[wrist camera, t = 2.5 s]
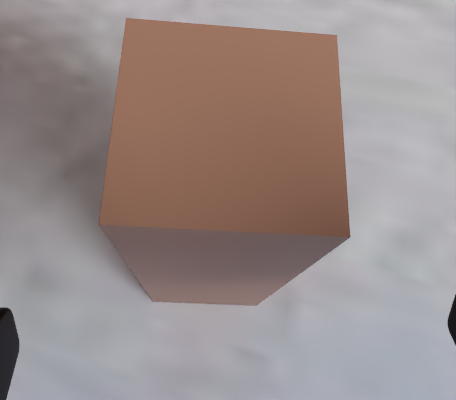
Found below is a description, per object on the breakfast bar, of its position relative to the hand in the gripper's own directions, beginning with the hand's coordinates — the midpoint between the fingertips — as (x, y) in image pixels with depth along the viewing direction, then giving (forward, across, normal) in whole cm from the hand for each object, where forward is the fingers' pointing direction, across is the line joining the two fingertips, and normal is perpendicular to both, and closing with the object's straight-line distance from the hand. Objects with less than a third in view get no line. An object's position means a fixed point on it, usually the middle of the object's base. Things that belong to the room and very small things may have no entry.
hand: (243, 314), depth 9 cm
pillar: (+10, 0, +5) cm, 11 cm away
